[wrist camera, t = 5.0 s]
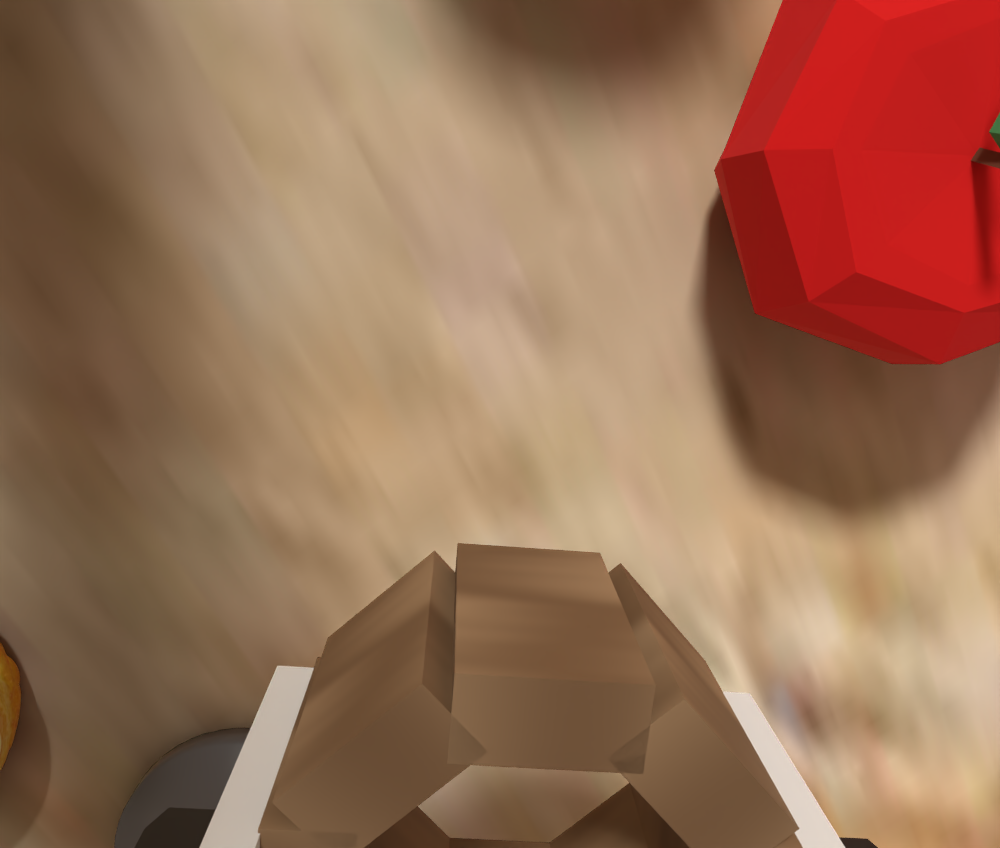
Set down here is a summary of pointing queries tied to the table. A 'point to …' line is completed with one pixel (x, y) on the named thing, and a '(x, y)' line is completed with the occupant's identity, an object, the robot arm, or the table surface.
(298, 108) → the table surface
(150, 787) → the post
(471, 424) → the table surface
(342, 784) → the ring
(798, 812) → the robot arm
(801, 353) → the table surface
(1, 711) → the decorated donut
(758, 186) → the apple
